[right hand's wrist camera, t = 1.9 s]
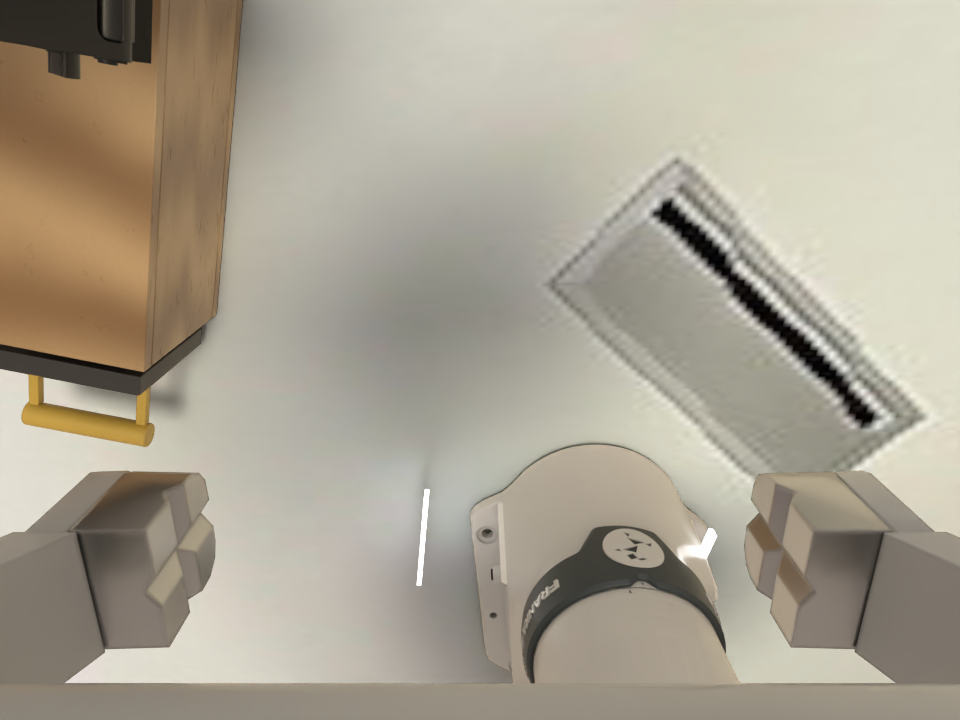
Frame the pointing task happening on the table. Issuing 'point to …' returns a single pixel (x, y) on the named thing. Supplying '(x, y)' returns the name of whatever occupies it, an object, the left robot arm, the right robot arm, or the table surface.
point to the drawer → (96, 377)
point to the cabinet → (117, 191)
